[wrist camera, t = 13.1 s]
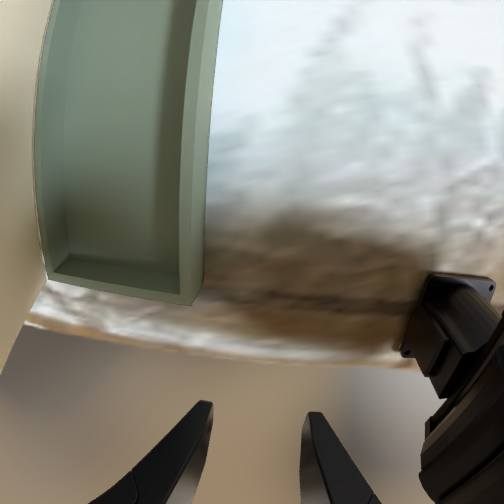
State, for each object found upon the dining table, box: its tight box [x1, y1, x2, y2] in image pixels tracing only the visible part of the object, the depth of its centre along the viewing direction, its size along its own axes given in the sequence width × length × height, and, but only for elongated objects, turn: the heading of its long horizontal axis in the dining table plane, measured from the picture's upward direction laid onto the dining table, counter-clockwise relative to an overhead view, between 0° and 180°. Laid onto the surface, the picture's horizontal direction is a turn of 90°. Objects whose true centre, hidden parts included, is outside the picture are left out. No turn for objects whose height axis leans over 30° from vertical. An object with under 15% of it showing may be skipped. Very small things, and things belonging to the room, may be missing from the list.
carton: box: [34, 0, 223, 306], centre depth 13 cm, size 10×20×3 cm, turn 175°
